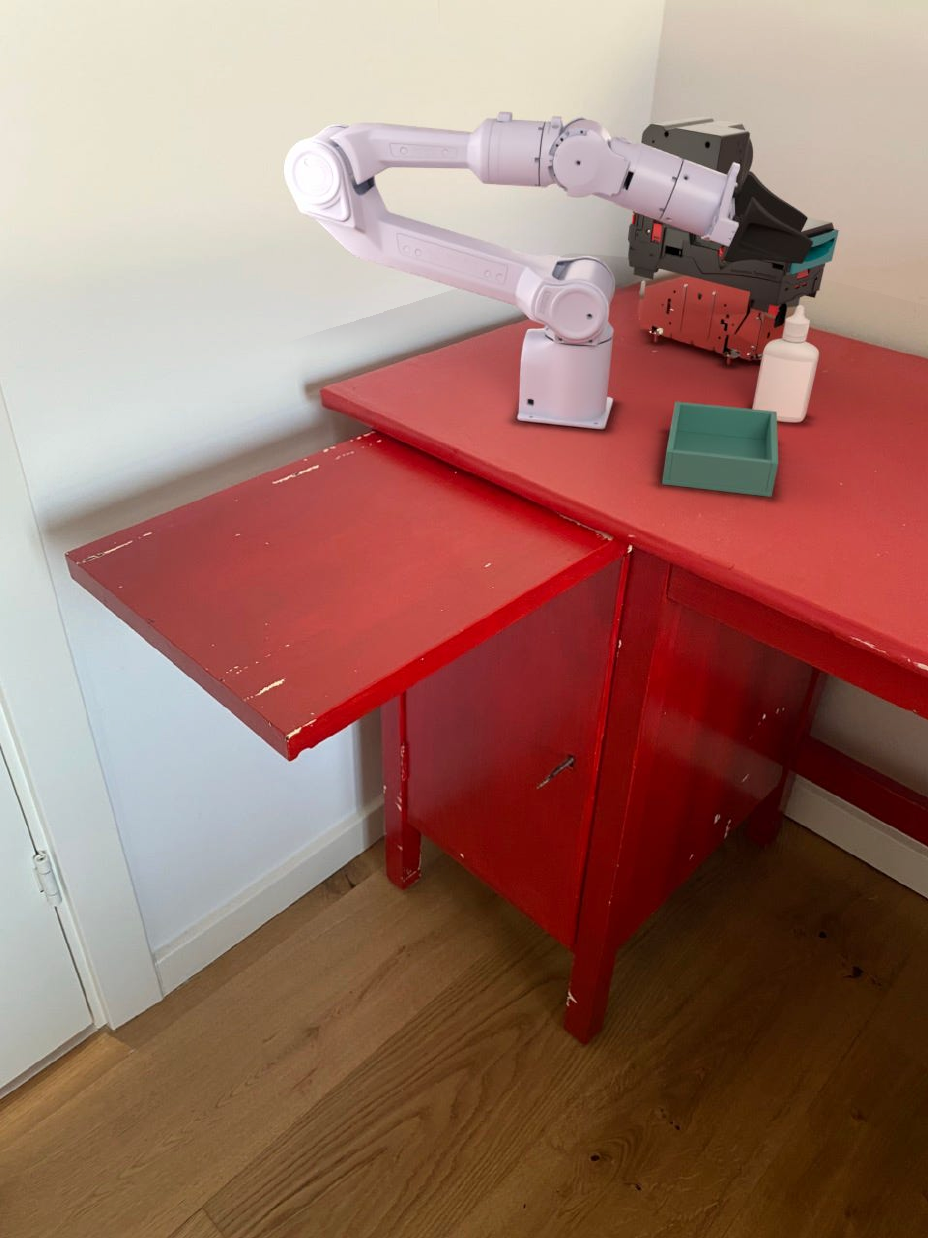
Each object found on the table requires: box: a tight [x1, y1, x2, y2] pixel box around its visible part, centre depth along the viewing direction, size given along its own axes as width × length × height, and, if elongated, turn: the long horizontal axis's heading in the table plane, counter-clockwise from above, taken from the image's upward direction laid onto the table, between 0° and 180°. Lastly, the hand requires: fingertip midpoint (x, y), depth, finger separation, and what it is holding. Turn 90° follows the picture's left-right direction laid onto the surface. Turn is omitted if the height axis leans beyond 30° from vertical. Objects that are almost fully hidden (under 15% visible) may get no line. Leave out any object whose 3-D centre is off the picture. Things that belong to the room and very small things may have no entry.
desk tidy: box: [661, 401, 779, 498], centre depth 96 cm, size 10×12×4 cm
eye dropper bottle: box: [751, 305, 820, 424], centre depth 103 cm, size 4×6×12 cm
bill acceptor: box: [627, 115, 840, 365], centre depth 118 cm, size 10×23×25 cm, turn 44°
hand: (805, 239), depth 93 cm, fingers open, 7 cm apart
